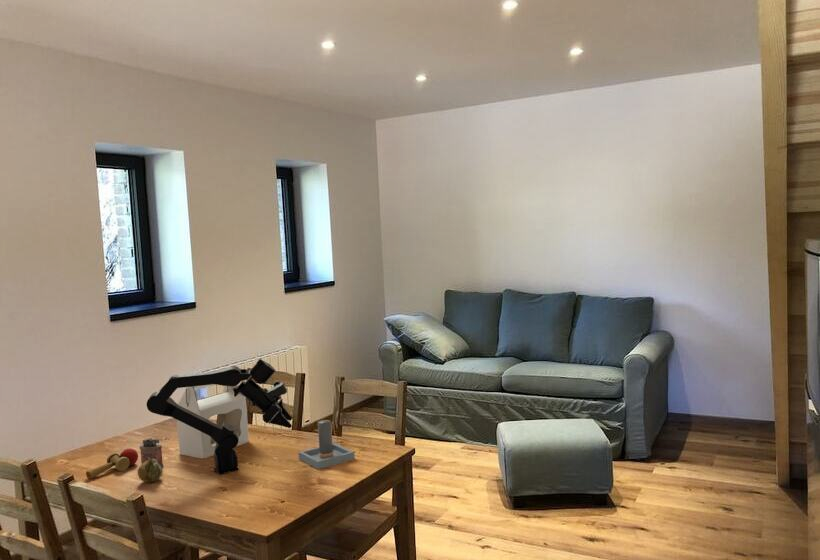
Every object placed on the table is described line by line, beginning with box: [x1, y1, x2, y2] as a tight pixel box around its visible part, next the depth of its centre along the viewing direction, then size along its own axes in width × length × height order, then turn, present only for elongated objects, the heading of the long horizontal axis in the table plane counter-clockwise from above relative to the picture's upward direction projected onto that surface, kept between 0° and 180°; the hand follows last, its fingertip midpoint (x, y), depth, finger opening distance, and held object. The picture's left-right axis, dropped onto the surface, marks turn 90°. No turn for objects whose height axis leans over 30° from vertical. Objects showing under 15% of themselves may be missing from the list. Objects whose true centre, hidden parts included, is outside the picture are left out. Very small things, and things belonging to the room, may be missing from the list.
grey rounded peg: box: [317, 419, 333, 459], centre depth 230 cm, size 5×5×12 cm
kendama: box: [85, 448, 139, 480], centre depth 230 cm, size 8×6×18 cm
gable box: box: [176, 384, 250, 460], centre depth 249 cm, size 22×13×28 cm, turn 147°
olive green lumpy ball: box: [137, 458, 164, 484], centre depth 218 cm, size 8×8×8 cm
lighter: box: [139, 437, 164, 469], centre depth 232 cm, size 8×3×10 cm, turn 76°
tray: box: [298, 442, 356, 470], centre depth 230 cm, size 14×14×2 cm
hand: (291, 423), depth 228 cm, fingers open, 9 cm apart
